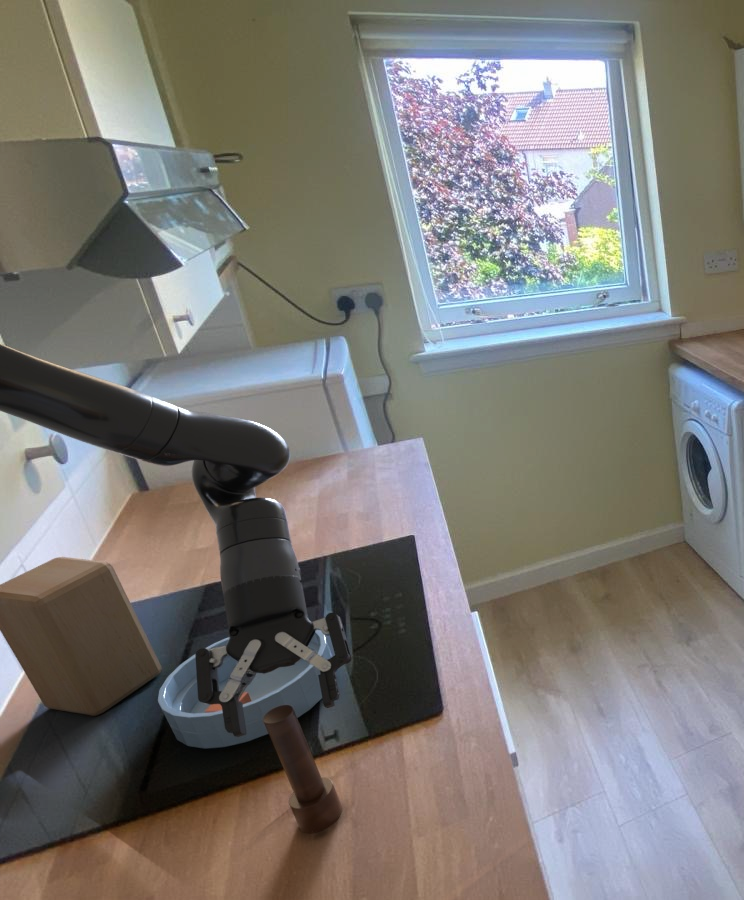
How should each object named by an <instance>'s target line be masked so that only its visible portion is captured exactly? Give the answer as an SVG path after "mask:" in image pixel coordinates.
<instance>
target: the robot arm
mask: <svg viewBox="0 0 744 900" xmlns="http://www.w3.org/2000/svg"><path fill="white" fill-rule="evenodd" d="M0 412H3V413H5V414H7V415H10V416H13V417H16V418H18V419H21V420H24V421H27V422H29V423H32V424H35V425H38V426H39V427H43V428H45V429H48V430H51V431H53V432H56V433H58V434H60V435H63V436H66V437H69V438H71V439H74V440H76V441H80V442H82V443H84V444H89V445H91V446H94V447H97V448H99V449H103V450H106V451H109V452H112V453H115V454H119V455H122V456H125V457H128V458H131V459H134V460H138V461H142V462H145V463H148V464H152V465H156V466H161V467H172V466H176V465H180V464H183V463H187V462H191V461H193V462H192V467H191V480H192V483H193V486H194V489H195V490H196V492H197V494H198V496H199V498H200V500H201V502H202V504H203V505H204V508H205V510H206V512H207V513H208V515H209V517H210V519H211V520H212V522H213V523H214V526H215V534H216V540H217V546H218V554H219V560H220V561H219V562H220V563H219V577H220V583H221V591H222V595H223V596H222V597H223V602H224V610H225V616H226V622H227V629H228V634H229V636H228V637H229V641H228V644H227V646H223V647H219V648H214V649H210V650H208V649H206V648H207V647H202V648H199V649H197V650H196V652H195V654H194V655H195V657H196V673H197V689H198V700H199V701H200V702H203V703H206V704H210V705H212V704H220V705H221V706H222V711H223V718H224V723H225V724H224V725H225V729H226V731H227V732H228V733H233V735H234V736H236V737H240V736H243V735H246V734H247V730H246V724H245V717H244V711H243V705H242V702H240V701H239V699H240V697H241V696H242V694H243V692H244V691H245V689H246V687H247V686H248V685H249V684H250V683H251V682H252V680H253V679H254V677H255V675H256V674H257V673H263V674H265V673H268V672H271V671H273V670H275V669H277V668H279V667H288V666H292V665H295V663H296V662H297V661H299V660H300V659H301V658H302V659H304V660H305V661H307V662H308V663H310V664H311V665H313V666H314V667H316V668H317V669H319V670H320V675H318V677H319V683H320V688H321V693H322V699H321V700H322V704H323V707H324V708H326V709H329V708H334V707H335V706H336V704H335V701H338V700H339V699H340V689H339V685H338V680H337V679H338V678H337V673H336V672H337V671H338V670H339V669H340V668H341V667H343V666H344V665H347V664H349V663H351V661H352V659H353V657H352V653H351V650H350V646H349V642H348V639H347V635H346V632H345V631H346V630H345V629H344V625H343V621H342V618H341V617H340V616H339V615H338V614H336V613H335V612H329V613H327V614H326V615H325V617H322V618H319V619H316V620H313V621H311V620H310V618H309V615H308V609H307V603H306V599H305V592H304V587H303V582H302V572H301V568H300V566H299V561H298V558H297V555H296V552H295V550H294V547H293V543H292V537H291V531H290V527H289V521H288V517H287V513H286V509H285V507H284V506H283V505H282V503H280V502H279V501H278V500H276V499H274V498H270V497H257V495H256V487H258V486H260V485H262V484H264V483H265V482H267V481H269V480H271V479H272V478H275V477H276V476H278V475H279V474H280V473H282V471H284V470H285V469H286V468H287V466H288V465H289V462H290V459H291V451H290V447H289V445H288V443H287V442H286V441H285V439H284V438H283V437H282V436H281V434H279V433H278V432H277V431H275V430H273V429H272V428H270V427H268V426H266V425H264V424H262V423H259V422H255V421H253V420H249V419H244V418H239V417H232V416H227V415H221V414H216V413H212V412H211V413H210V412H203V411H202V412H201V411H194V410H190V409H189V410H188V409H185V408H183V407H181V406H178V405H176V404H173V403H171V402H169V401H165V400H163V399H160V398H158V397H155V396H153V395H149V394H147V393H144V392H141V391H139V390H136V389H133V388H130V387H127V386H124V385H121V384H119V383H115V382H112V381H110V380H106V379H104V378H100V377H97V376H93V375H90V374H87V373H84V372H81V371H78V370H75V369H71V368H70V367H69V368H68V367H65V366H62V365H60V364H56V363H53V362H50V361H47V360H45V359H41V358H38V357H36V356H33V355H31V354H28V353H25V352H22V351H20V350H17V349H15V348H13V347H10V346H7V345H5V344H2V343H0ZM316 630H321V632H322V633H323V634H324V635H325V637H326V636H327V637H329V639H330V641H331V646H332V648H333V653H334V655H332V656H333V657H331V658H330V659H328V660H326V659H324V658H323V657H321V656H320V655H318V654H317V653H315V652H314V651H312V650H311V649H309V648H308V645H309V643H310V641H311V639H312V637H313V636H314V634H315V631H316ZM228 655H229V656H231V657H232V658H233V659H235V660H236V661H238V663H237V665H236V666H235V668H234V670H233V671H232V673H231V675H230V677H229V681H228V683H227V684H226V686H225V687H224V689H223V691H219V684H218V670H217V668H219V667H220V666H222V664H223V661H224V658H225V657H226V656H228ZM241 669H242V670H241ZM249 672H250V673H249Z"/></svg>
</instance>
